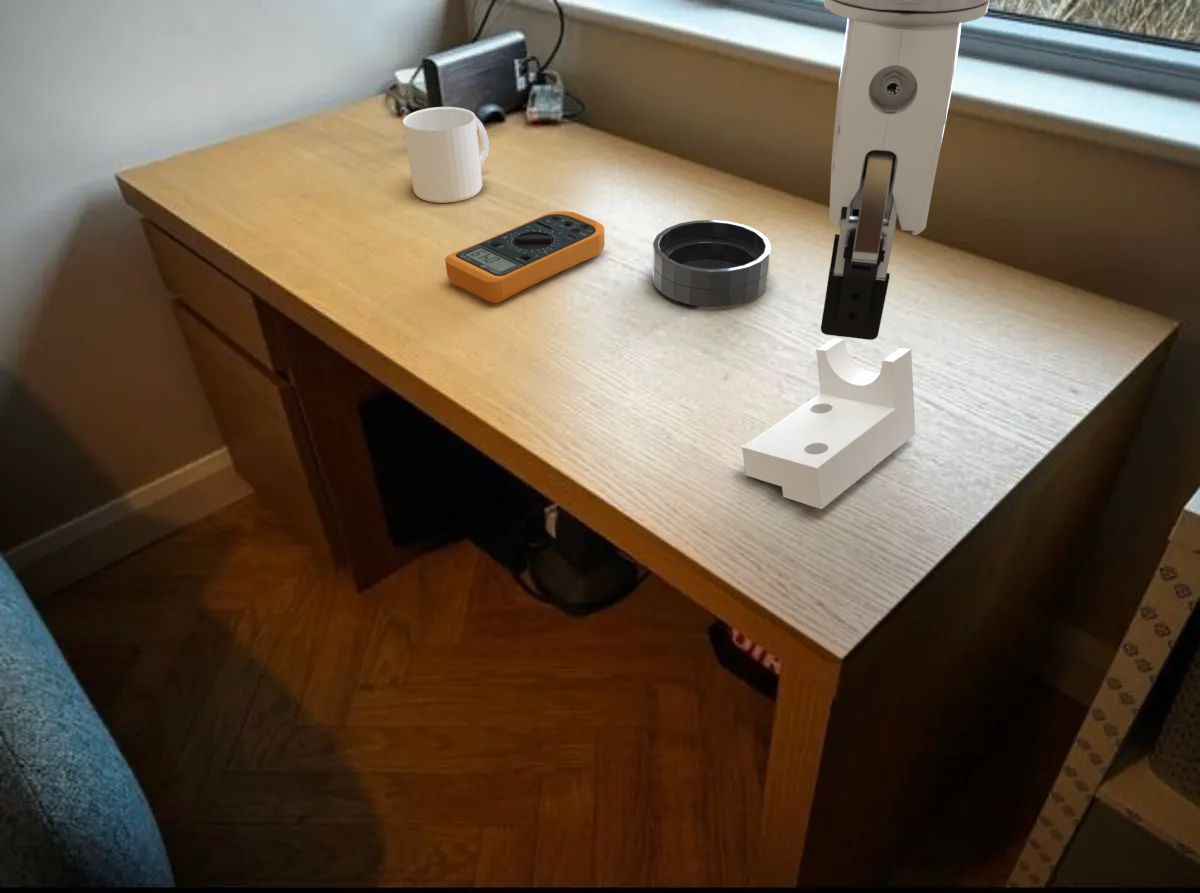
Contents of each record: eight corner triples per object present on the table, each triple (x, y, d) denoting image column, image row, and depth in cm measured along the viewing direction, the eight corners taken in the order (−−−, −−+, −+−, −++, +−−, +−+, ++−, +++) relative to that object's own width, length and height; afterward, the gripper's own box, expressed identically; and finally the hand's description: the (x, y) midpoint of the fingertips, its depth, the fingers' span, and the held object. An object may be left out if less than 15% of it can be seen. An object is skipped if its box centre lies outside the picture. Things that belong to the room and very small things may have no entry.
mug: (436, 209, 114) (426, 135, 108) (401, 188, 119) (389, 117, 114) (514, 184, 120) (508, 113, 114) (477, 166, 125) (470, 97, 119)
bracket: (841, 417, 79) (834, 337, 76) (915, 433, 74) (911, 349, 70) (747, 485, 72) (735, 401, 69) (821, 509, 67) (812, 419, 64)
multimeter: (614, 252, 103) (613, 224, 101) (494, 310, 93) (491, 280, 91) (562, 231, 108) (561, 203, 106) (443, 283, 98) (439, 254, 96)
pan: (773, 263, 100) (777, 225, 97) (758, 317, 91) (762, 277, 88) (665, 252, 103) (666, 215, 100) (641, 303, 94) (641, 264, 91)
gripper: (1009, 20, 35) (916, 403, 46) (984, -56, 48) (915, 260, 59) (813, 12, 37) (770, 384, 48) (838, -60, 49) (799, 249, 61)
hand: (850, 313), depth 53 cm, fingers open, 3 cm apart
